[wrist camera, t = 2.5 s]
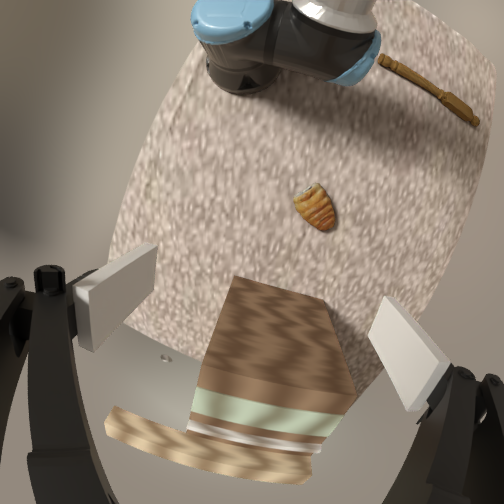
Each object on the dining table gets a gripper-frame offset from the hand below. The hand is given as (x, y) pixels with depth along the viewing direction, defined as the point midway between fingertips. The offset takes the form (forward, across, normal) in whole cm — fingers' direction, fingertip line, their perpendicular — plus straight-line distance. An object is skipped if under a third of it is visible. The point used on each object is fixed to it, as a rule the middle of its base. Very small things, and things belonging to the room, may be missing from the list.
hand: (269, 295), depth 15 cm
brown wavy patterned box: (+41, +5, -28) cm, 50 cm away
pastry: (+41, +8, +3) cm, 42 cm away
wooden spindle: (+41, +31, +38) cm, 64 cm away
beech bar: (+11, -1, -33) cm, 35 cm away
